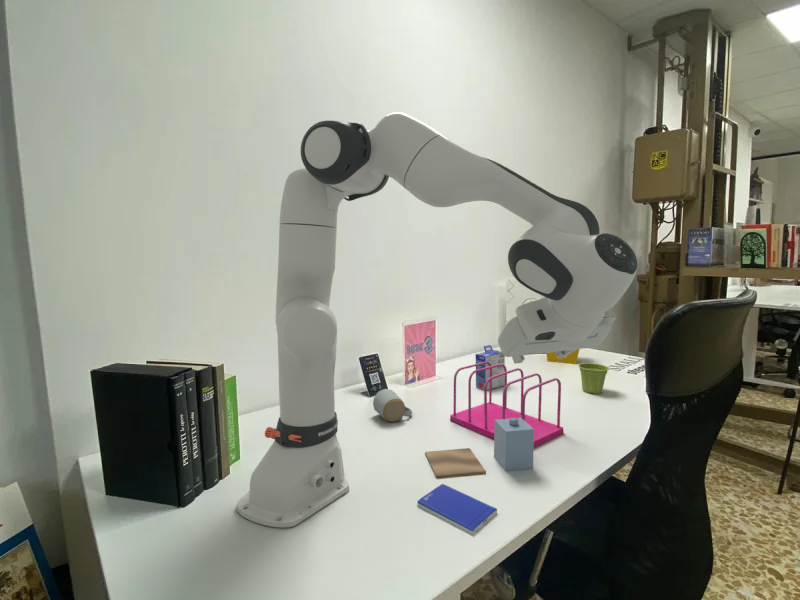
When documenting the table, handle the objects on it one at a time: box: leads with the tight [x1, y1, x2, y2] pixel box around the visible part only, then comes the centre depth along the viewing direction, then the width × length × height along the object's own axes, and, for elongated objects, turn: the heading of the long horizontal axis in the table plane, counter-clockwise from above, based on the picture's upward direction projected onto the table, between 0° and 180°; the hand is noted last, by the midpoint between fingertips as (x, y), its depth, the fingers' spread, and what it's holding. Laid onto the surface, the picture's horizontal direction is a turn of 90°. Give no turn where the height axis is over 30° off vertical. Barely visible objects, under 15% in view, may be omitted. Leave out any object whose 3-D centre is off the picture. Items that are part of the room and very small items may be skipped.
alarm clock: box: [545, 349, 580, 365], centre depth 184 cm, size 15×8×18 cm, turn 66°
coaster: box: [424, 447, 487, 479], centre depth 96 cm, size 11×11×1 cm
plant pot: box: [578, 362, 610, 395], centre depth 144 cm, size 9×9×9 cm
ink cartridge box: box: [475, 344, 506, 391], centre depth 150 cm, size 10×6×14 cm, turn 124°
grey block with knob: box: [493, 418, 535, 472], centre depth 95 cm, size 6×6×10 cm
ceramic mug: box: [372, 388, 413, 423], centre depth 122 cm, size 11×8×8 cm
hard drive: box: [416, 483, 498, 535], centre depth 79 cm, size 2×8×12 cm
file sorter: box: [449, 362, 564, 448], centre depth 115 cm, size 17×25×16 cm
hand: (538, 357), depth 83 cm, fingers open, 8 cm apart
